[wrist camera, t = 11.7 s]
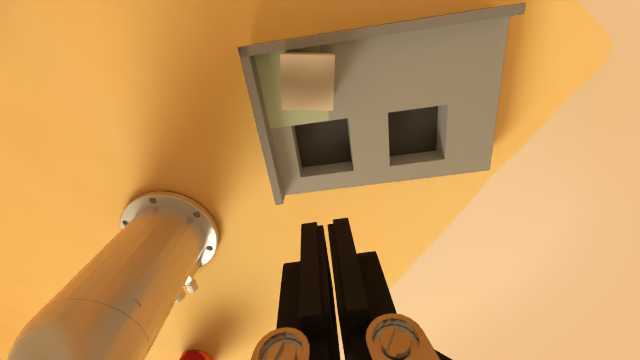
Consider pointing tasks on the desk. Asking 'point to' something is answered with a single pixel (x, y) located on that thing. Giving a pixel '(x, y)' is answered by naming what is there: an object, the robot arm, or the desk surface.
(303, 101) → the block
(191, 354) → the paper cup
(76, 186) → the desk surface
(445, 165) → the trap board
